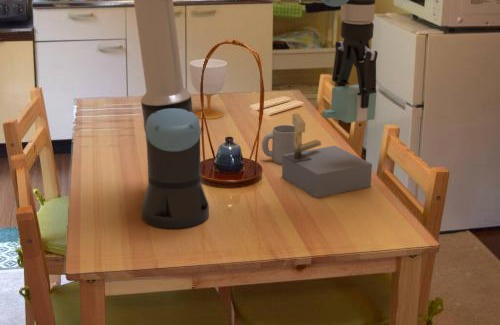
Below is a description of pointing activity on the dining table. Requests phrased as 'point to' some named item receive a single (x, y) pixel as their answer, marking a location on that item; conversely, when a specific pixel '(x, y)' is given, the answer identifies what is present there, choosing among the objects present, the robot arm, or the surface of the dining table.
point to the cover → (348, 104)
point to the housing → (327, 171)
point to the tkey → (298, 145)
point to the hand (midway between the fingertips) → (351, 116)
